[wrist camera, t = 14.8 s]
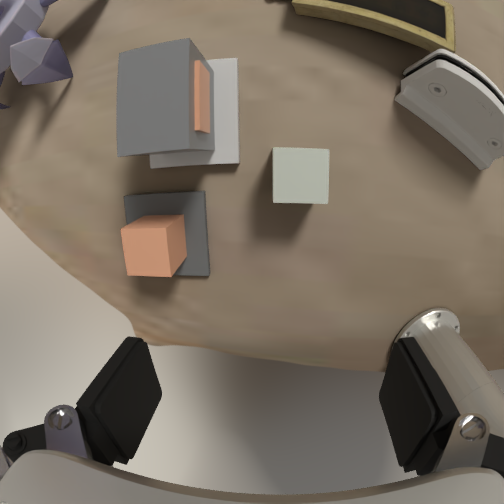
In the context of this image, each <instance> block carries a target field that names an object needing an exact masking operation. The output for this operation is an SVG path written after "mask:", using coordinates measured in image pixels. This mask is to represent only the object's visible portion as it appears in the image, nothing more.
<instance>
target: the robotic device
mask: <svg viewBox="0 0 504 504" xmlns="http://www.w3.org/2000/svg"><path fill="white" fill-rule="evenodd" d="M56 1H57V0H0V86H1V84H2V82H3V78H4V75H5V70H6V69H7V68H8V67H9V66H10V65H11V70H12V72H13V74H14V75H15V77H16V78H17V80H18V82H20V81H22V85H29V84H40V83H48V82H55V81H59V80H63V79H68V78H72V77H73V73H72V70H71V67H70V64H69V62H68V59H67V57H66V55H65V53H64V50H63V48H62V46H61V44H60V42H59V40H55V41H53V39H51V38H42V37H41V36H40V35H39V34H38V33H37V32H36V31H37V30H38V28H39V27H40V25H41V23H42V22H43V20H44V17H45V15H46V12H47V10H48V8H49V5H50V4H52V3H54V2H56ZM6 108H10V107H9V106H6V105H3V104H1V103H0V109H6Z"/></svg>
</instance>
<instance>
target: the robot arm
mask: <svg viewBox="0 0 504 504" xmlns="http://www.w3.org/2000/svg"><path fill="white" fill-rule="evenodd" d="M459 331H460V324H459V321H458V318H457V317H456V315H455V314H454V313H453V312H452V311H450V310H448V309H445V308H434V309H430V310H427V311H425V312H423V313H421V314H419V315H418V316H416V317H415V318H414V319H412V320H411V321H410V322H409V323H408V324H407V325H406V326H405V327H404V328H403V329H402V330H401V332H400V333H399V334H398V336H397V338H396V339H395V341H394V344H393V346H392V351H391V355H390V359H389V363H388V366H387V370H386V373H385V376H384V380H383V383H382V386H381V389H380V393H379V400H380V403H381V406H382V410H383V413H384V416H385V419H386V422H387V425H388V429H389V432H390V436H391V439H392V442H393V446H394V449H395V453H396V457H397V460H398V463H399V465H400V466H401V467H402V466H403V468H404V471H405V473H406V472H410V471H413V470H416V472H417V475H418V476H417V477H415V478H411V479H407V480H403V481H398V482H394V483H389V484H384V485H379V486H373V487H367V488H361V489H355V490H347V491H339V492H330V493H317V494H299V495H298V494H296V495H265V494H245V493H232V492H223V491H215V490H207V489H201V488H195V487H189V486H183V485H178V484H173V483H168V482H164V481H160V480H155V479H151V478H148V477H144V476H140V475H137V474H134V473H130V472H127V471H123V470H120V469H117V468H114V467H113V463H114V461H116V462H119V463H122V464H127V463H128V461H129V459H132V458H133V457H134V455H135V453H136V451H137V449H138V447H139V444H140V442H141V440H142V438H143V436H144V434H145V431H146V429H147V427H148V425H149V423H150V420H151V419H152V416H153V414H154V412H155V410H156V408H157V406H158V404H159V402H160V400H161V397H162V390H161V387H160V384H159V381H158V378H157V375H156V372H155V369H154V365H153V362H152V359H151V355H150V352H149V349H148V345H147V343H146V342H144V341H143V339H142V338H137V337H127V338H126V339H125V340H124V341H123V343H122V344H121V345H120V346H119V348H118V349H117V350H116V351H115V353H114V354H113V355H112V357H111V358H110V359H109V360H108V362H107V363H106V364H105V366H104V367H103V368H102V370H101V371H100V372H99V373H98V375H97V376H96V377H95V379H94V380H93V381H92V383H91V384H90V385H89V387H88V388H87V389H86V391H85V392H84V393H83V395H82V396H81V398H80V399H79V400H78V402H77V403H76V404H77V407H76V408H75V409H74V408H73V407H71V406H69V405H59V406H56V407H54V408H52V409H51V410H50V411H49V412H48V413H47V414H46V416H45V420H44V424H41V425H37V426H34V427H30V428H26V429H23V430H18V431H14V432H12V433H10V434H9V435H7V437H6V438H5V440H4V442H3V447H1V446H0V504H504V393H503V391H502V390H501V388H500V387H499V386H498V384H497V383H496V381H495V380H494V379H493V378H492V376H491V375H490V373H489V372H488V371H487V369H486V368H485V367H484V365H483V364H482V363H481V361H480V360H479V359H478V358H477V356H476V355H475V354H474V352H473V351H472V350H471V349H470V348H469V346H468V345H467V344H466V343H465V341H464V340H463V339H462V338H461V337H460V335H459Z"/></svg>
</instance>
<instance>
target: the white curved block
mask: <svg viewBox="0 0 504 504" xmlns="http://www.w3.org/2000/svg"><path fill="white" fill-rule="evenodd" d="M403 75H405V77H406V78H404V79H403V80H401V92H400V93H399V94H398V95H396V96H395V101H396V102H398V103H399V104H401V105H402V106H404V107H405V108H407V109H408V110H410V111H411V112H412V113H414V114H415V115H416V116H418V117H419V118H420V119H422V120H423V121H424V122H426V123H427V124H428V125H430V126H431V127H432V128H433V129H435V130H436V131H437V132H438V133H440V134H441V135H442V136H443V137H445V138H446V139H447V140H448V141H449V142H450V143H452V144H453V145H454V146H455V147H456V148H457V149H458V150H460V151H461V152H462V153H463V154H464V155H465V156H466V157H467V158H468V159H469V160H470V161H471V162H472V163H474V164H475V165H476V166H477V167H478V168H479V169H480V170H482V169H486V168H489V167H490V165H491V164H492V162H493V161H494V160H495V159H498V158H500V157H502V156H504V95H503V94H502V92H501V91H500V90H499V89H498V87H497V86H496V85H495V84H494V83H493V82H492V81H491V80H490V79H489V78H488V77H487V76H486V75H485V74H483V73H482V72H481V71H480V70H479V69H477V68H476V67H475V66H473V65H472V64H470V63H469V62H467V61H466V60H464V59H463V58H461V57H459V56H457V55H456V54H454V53H451V52H449V51H447V50H445V49H437V50H436V51H434V52H432V53H431V54H429V55H427V56H426V57H424V58H422V59H421V60H419V61H418V62H416V63H414V64H413V65H411V66H410V67H408V68H406V69H405V71H404V72H403Z"/></svg>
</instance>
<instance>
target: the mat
mask: <svg viewBox="0 0 504 504" xmlns="http://www.w3.org/2000/svg"><path fill="white" fill-rule="evenodd" d="M124 203H125V213H126V221H127V225H128V224H130V223H132V222H134V221H136V220H137V219H139V218H141V217H143V216H149V215H183V214H184V226H185V238H186V250H187V257H186V258H185V259H184V261H183V262H182V263H181V265H180V266H179V267H178V269H177V270H176V271H175V273H174V274H173V275H191V276H209V275H210V263H209V249H208V234H207V217H206V198H205V191H187V192H168V193H152V194H139V195H127V196H124Z"/></svg>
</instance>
